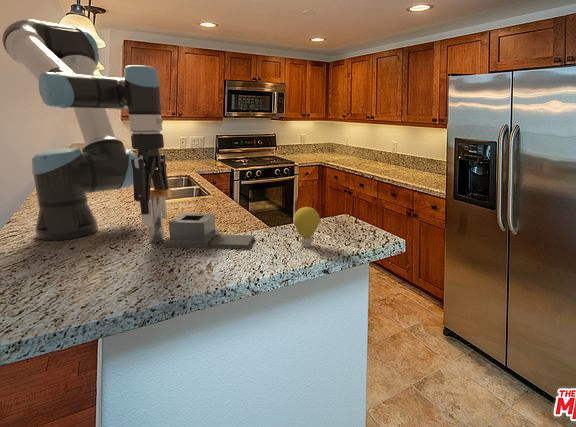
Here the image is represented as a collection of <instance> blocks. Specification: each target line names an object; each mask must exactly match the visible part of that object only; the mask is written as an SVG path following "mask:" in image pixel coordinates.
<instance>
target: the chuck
mask: <svg viewBox="0 0 576 427" xmlns="http://www.w3.org/2000/svg"><path fill="white" fill-rule="evenodd" d="M215 215H216V214H215V213H196V212H195V213H188V212H187V213H186V212H185V213H184V212H183V213H181V214H179V215H177V216H176V217H174V218H173V219H171V220H169V221H168V230H169V237H167V238H166V239H164V242H165V248H178V249H181V248H182V249H203V248H205V249H208V250H209V249H210V245H209V244H210V243H211V242H212V241H213V240H214V239H215V237H216V236H217V235H218V234H221V232H220V231H221V230H220V229H216V216H215ZM179 247H181V248H179Z"/></svg>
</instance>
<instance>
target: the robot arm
mask: <svg viewBox="0 0 576 427" xmlns="http://www.w3.org/2000/svg"><path fill="white" fill-rule="evenodd" d="M2 45H3V48H4V50H5V52H6V53H7V55H8V56H10V58H11V59H12V60H13V61H14V62H17V64H20V65H23V67H25V68H26V69H27V70H28V71H29V72H30V73H31V74H32V76H34V78H36V80H38V91H39V95H40V97H41V100H42V102H43V104H45V105H46V106H49V107H52V108H53V107H54V108H60V109H67V108H69V109H71V108H72V109H73V112H74V114H75V118H76V120H77V123H78V127H79V129H80V131H81V135H82V139H83V142H84V144H85V145H84V146H82V148H81V149H80V148H79V147H68V148H59V149H51V150H46V151H42V152H38V153H36V154H34V155H33V157H32V158H31V166H32V172H31V173H32V175H33V180H34V186H35V190H36V196H37V202H38V207H39V209H38V216H37V218H36V225H35V236H36V239H39V240H43V241H65V240H71V239H77V238H81V237H85V236H88V235H91V234H93V233H96V232H97V231H98V229H99V227H98V222H97V219H96V216H95V215H94V213H93V212H92V209H91V208H90V206H89V204H88V197H87V195H88V194H90V193H91V194H92V193H98V192H99V193H100V192H107V191H115V190H118V191H119V190H121V189H127V188H131V187H132V186H133V188H132V189H133V200H134V202H139V208H140V216H141V226H142V227H148V226H149V227H153V226H154V220H153V209H152V201H149V200H150V189H152V187H151V186H152V185H151V184H153V187H154V188H153V189H170V186H169V181H168V175H167V174H168V173H167V168H166V155H165V154H161V153H160V151H159V150H161V149H164V147H165V142H164V135H163V134H162V133H161V132H163V122H164V120H163V118H162V109H161V108H162V106H161V95H160V94H161V92H160V90H161V89H160V85H161V84H160V82H159V74H158V70H157V69H156V68H155V67H153V66H149V65H139V64H136V65H135V64H132V65H126V66H125V67H124V72H123V74H124V75H123V77H108V76H98V75H97V76H95V75H94V72H95V71H96V69H97V66H98V65H99V61H100V54H99V47H98V43H97V41H96V39H95V38H94V35H93V34H92V33H91V32H90V31H89V30H87V29H85V28H81V27H77V26H75V25H65V24H64V25H63V24H58V23H53V22H48V21H47V22H46V21H42V20H37V19H22V20H16V21H14V22H13V23H10V24H9V25H8V26H7V27H6V29H4V31H3V34H2ZM107 109H113V110H123V111H124V110H127V112H128V121H129V131H130V132H132V133H131V135H130V141H131V147H132V149H134V150H137V156H136V154H135V152H134V151H133V150H132V149H126V148H125V146H124V143H123V142H124V141H122V140H120V139H118V138H116V136H115V132H114V129H113V126H112V124H111V121H110V118H109V115H108V113H107V112H108V111H107ZM160 199H161V210H162V220H163V219H164V220H165V219H168V212H167V203H166V202H167V200H166V197H160Z"/></svg>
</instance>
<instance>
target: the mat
mask: <svg viewBox="0 0 576 427" xmlns="http://www.w3.org/2000/svg"><path fill="white" fill-rule="evenodd" d="M254 240H255V235H253V234H252V235H251V234H250V235H249V234H225V233H224V234H222V233H220V234H218V235H217V236H216V237H215V239H214V240H213V241H212V242H211V243H210V244H209V245H210V248H211V249H212V248H213V249H237V250H238V249H240V250H241V249H242V250H243V249H244V250H249V248H250V246H252V243H253V242H254ZM210 248H209V249H210Z"/></svg>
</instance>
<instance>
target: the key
mask: <svg viewBox="0 0 576 427" xmlns="http://www.w3.org/2000/svg"><path fill="white" fill-rule="evenodd" d="M171 189H172V188H169V189H155V188H150V200H149V201H152V209H153V220H154V226H153V227H149V226H147V228H148V236H149V243H160V242H165V234H164V224H163V223H164V222H163V218H162V210H161V199H160V197H165V198H169V197H171V196H172V190H171Z"/></svg>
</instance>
